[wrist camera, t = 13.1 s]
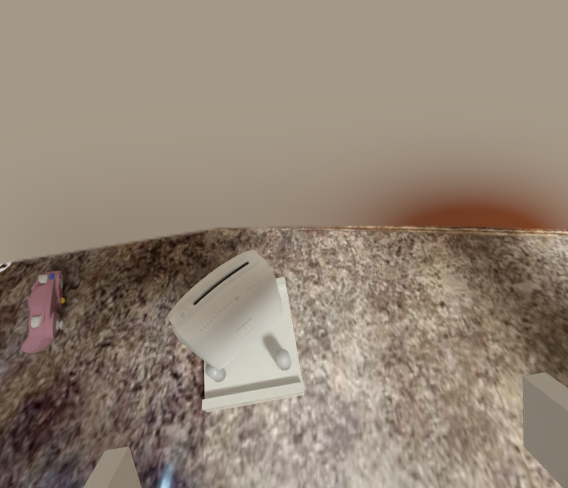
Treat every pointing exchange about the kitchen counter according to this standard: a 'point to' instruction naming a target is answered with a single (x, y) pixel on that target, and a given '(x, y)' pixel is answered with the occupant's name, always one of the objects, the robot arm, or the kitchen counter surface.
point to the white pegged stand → (258, 368)
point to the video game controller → (44, 311)
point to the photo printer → (228, 309)
